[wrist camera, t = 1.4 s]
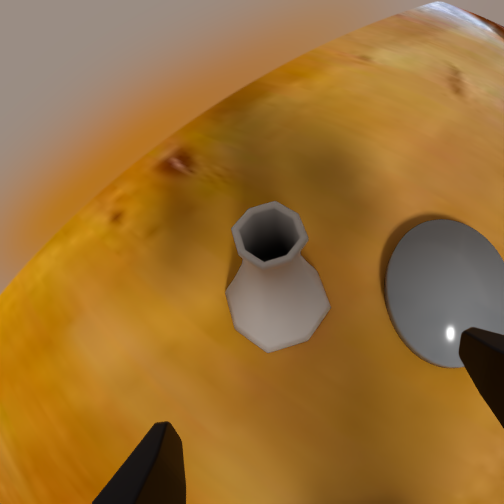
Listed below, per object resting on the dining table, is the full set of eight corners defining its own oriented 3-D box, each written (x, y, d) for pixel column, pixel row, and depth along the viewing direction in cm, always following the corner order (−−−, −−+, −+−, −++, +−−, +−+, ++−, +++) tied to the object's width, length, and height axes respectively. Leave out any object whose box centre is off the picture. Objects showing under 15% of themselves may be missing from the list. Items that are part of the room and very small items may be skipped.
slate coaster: (496, 381, 17) (503, 380, 16) (365, 344, 20) (369, 342, 19) (508, 250, 22) (514, 245, 21) (398, 207, 25) (401, 201, 24)
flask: (209, 290, 24) (161, 220, 15) (288, 238, 25) (285, 147, 16) (264, 371, 20) (245, 351, 12) (348, 310, 22) (385, 247, 13)
